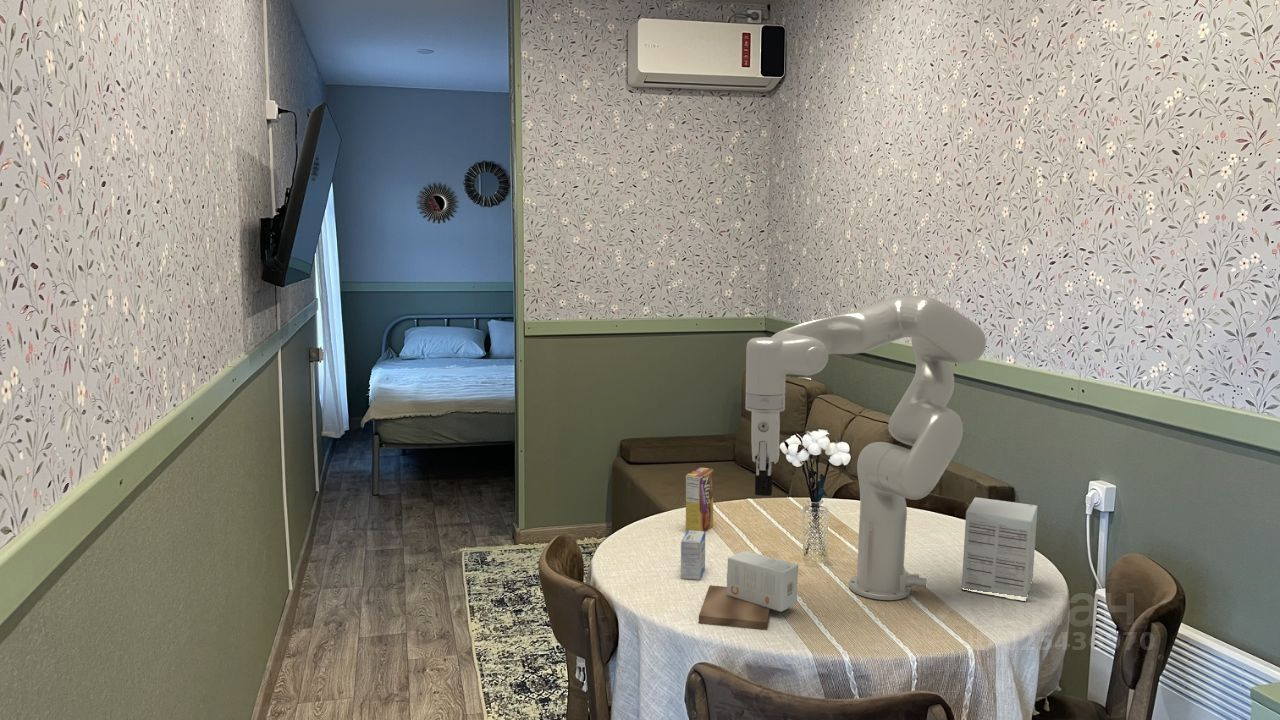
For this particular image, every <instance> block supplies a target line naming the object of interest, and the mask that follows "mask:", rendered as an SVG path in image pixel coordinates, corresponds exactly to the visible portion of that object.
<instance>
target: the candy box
mask: <svg viewBox="0 0 1280 720" xmlns="http://www.w3.org/2000/svg"><path fill="white" fill-rule="evenodd" d="M712 527H714V469H713V468H709V467H707V468H706V467H699V468H697V469H694V470H693V471H691V472H689V473H687V474H686V475H685V533H686V532H687V531H690V530H692V531H704V532H705V533H706V532H707V531H708V530H709V529H711V528H712Z"/></svg>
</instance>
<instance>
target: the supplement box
mask: <svg viewBox="0 0 1280 720" xmlns="http://www.w3.org/2000/svg"><path fill="white" fill-rule="evenodd" d="M1037 520H1038V505H1036V504H1028V503H1021V502H1014V501H1006V500H1000V499H990V498H985V497H984V498H983V497H976V496H975V497H974V498H973V499H972V502H971V503H970V504H969V506H968V508H967V510H966V511H965V527H964V540H963V541H964V543H963V544H964V545H963V558H962V559H963V563H962V577H961V588H964V589H968V590H969V589H970V590H977V591H983V592H992V593H999V594H1007V595H1014V596H1021V597H1027V595H1028V592H1029V589H1030V590H1031V588H1030V586H1031V587H1032V585H1031V582H1032V583H1033V580H1032V579H1034V578H1033V577H1034V566H1035V565H1034V562H1035V550H1036V549H1035V548H1036V535H1037ZM1029 593H1030V592H1029ZM1028 596H1029V595H1028Z"/></svg>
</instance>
